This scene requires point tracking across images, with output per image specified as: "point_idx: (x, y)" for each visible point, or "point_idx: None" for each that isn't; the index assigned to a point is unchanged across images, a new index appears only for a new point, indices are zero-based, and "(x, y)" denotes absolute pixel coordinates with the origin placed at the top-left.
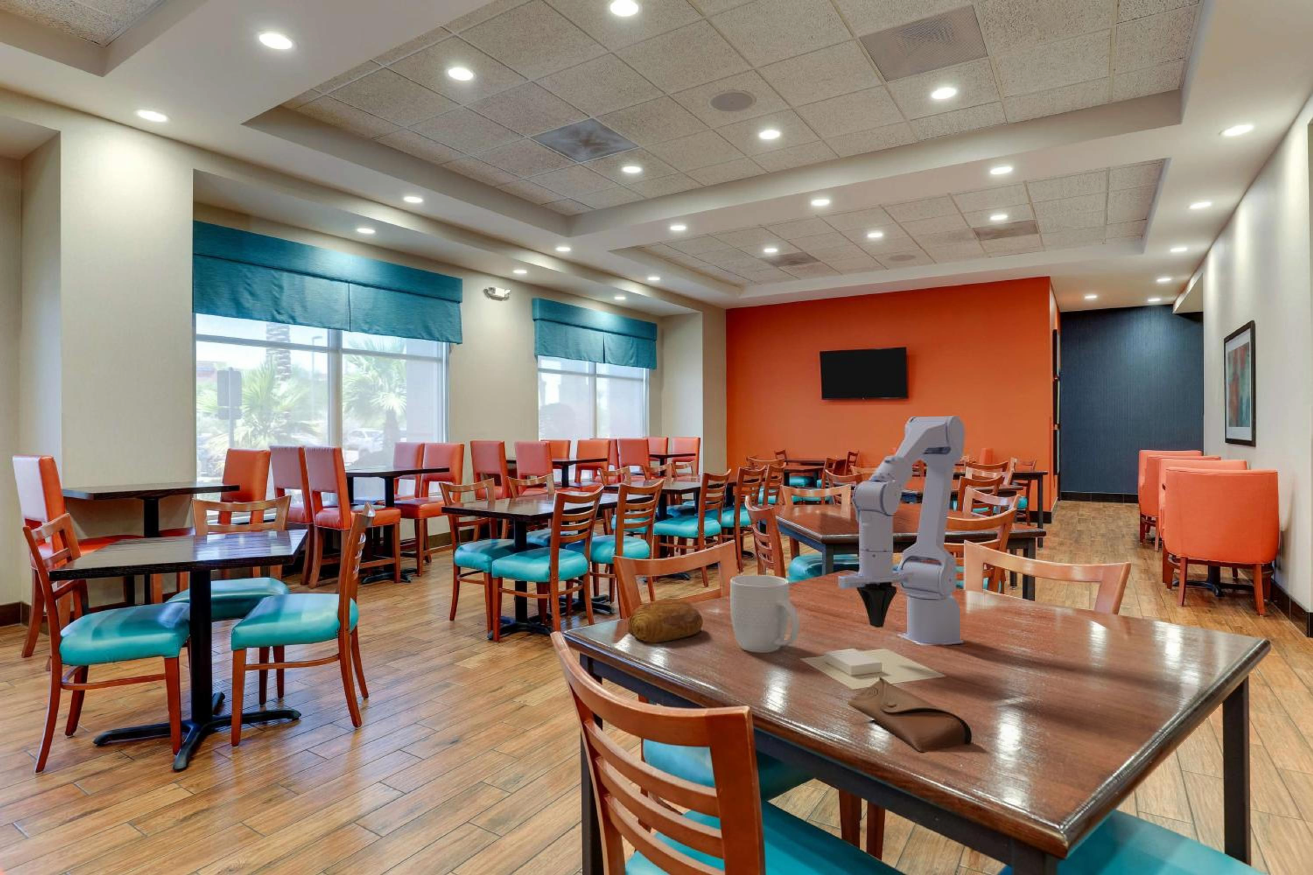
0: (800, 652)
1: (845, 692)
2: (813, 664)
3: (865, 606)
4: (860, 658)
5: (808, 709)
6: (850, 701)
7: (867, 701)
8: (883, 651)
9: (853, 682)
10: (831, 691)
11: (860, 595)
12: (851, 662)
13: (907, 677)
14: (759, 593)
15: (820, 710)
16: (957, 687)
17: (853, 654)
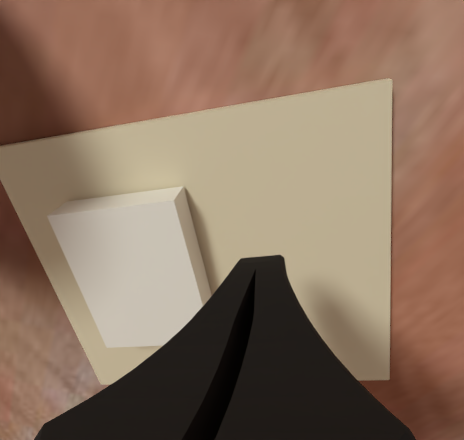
0: (3, 18)
1: (90, 369)
2: (29, 215)
3: (189, 324)
4: (158, 302)
5: (3, 409)
6: None
7: None
8: (354, 125)
9: (114, 354)
10: (60, 358)
11: (116, 385)
12: (117, 324)
13: None
14: None
15: (24, 417)
16: None
17: (148, 262)
